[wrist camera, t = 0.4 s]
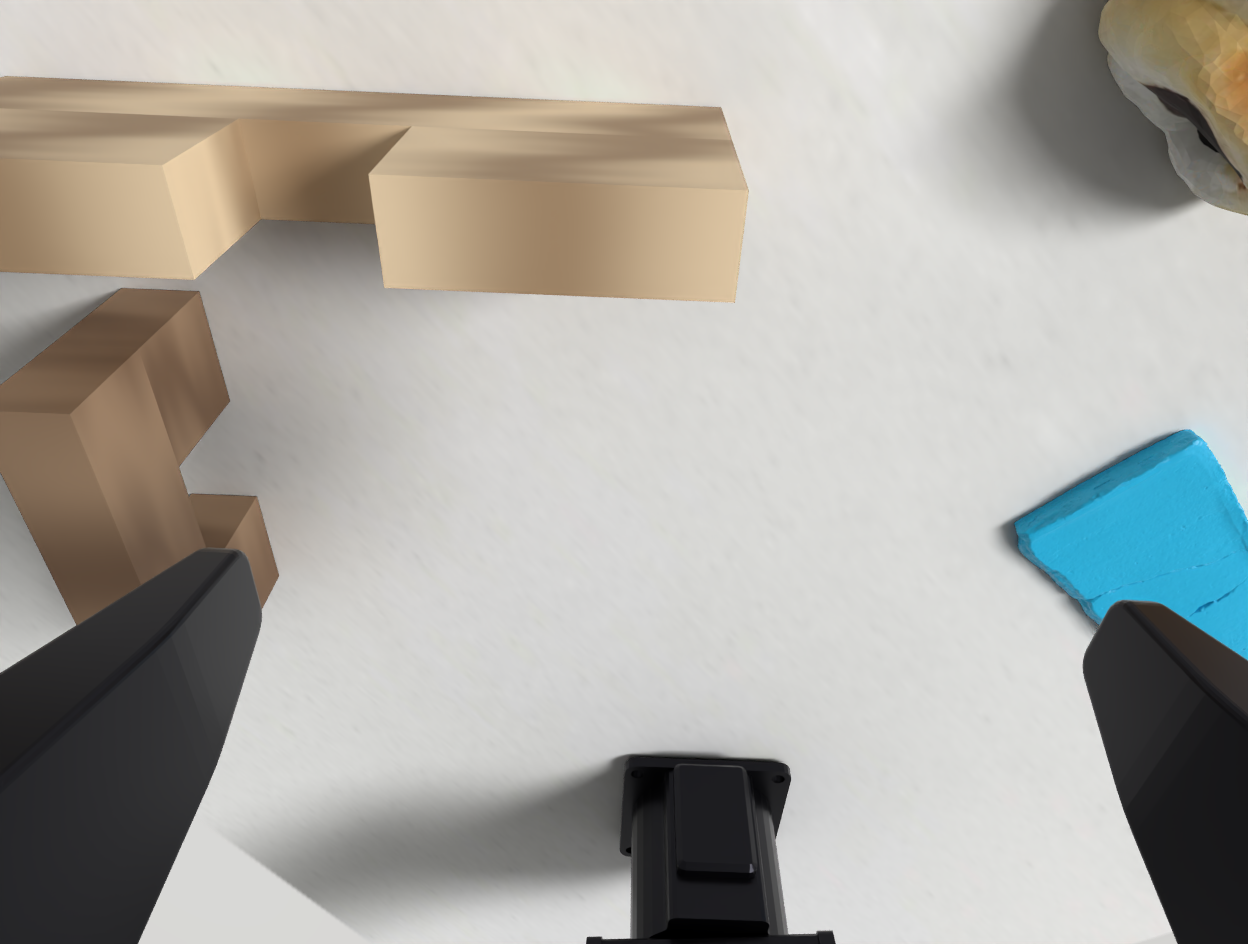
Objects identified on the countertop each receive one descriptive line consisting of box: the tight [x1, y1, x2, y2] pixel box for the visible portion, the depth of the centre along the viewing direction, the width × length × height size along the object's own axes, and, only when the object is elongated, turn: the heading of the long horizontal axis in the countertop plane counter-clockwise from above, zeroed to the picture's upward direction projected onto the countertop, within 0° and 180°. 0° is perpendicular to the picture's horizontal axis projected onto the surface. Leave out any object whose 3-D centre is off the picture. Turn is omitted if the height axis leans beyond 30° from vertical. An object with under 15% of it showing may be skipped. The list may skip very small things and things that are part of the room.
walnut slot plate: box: [0, 288, 279, 625], centre depth 22 cm, size 10×2×6 cm, turn 178°
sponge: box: [1014, 430, 1248, 660], centre depth 27 cm, size 2×12×6 cm
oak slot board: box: [0, 76, 749, 303], centre depth 17 cm, size 16×2×6 cm, turn 88°
